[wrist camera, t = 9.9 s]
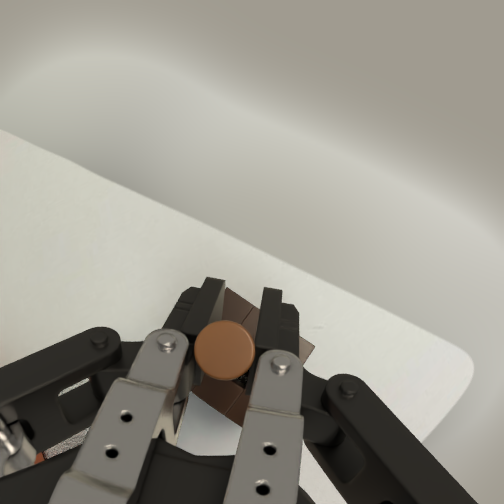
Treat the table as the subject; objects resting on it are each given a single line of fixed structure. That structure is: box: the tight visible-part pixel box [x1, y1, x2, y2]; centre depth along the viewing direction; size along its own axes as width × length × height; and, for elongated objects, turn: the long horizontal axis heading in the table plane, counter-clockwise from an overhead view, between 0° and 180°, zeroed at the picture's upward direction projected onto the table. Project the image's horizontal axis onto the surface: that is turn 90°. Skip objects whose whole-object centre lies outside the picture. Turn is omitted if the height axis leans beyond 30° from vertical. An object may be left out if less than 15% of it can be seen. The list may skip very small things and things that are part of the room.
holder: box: [190, 287, 315, 427], centre depth 20 cm, size 6×6×5 cm
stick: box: [194, 320, 255, 380], centre depth 14 cm, size 2×2×12 cm
